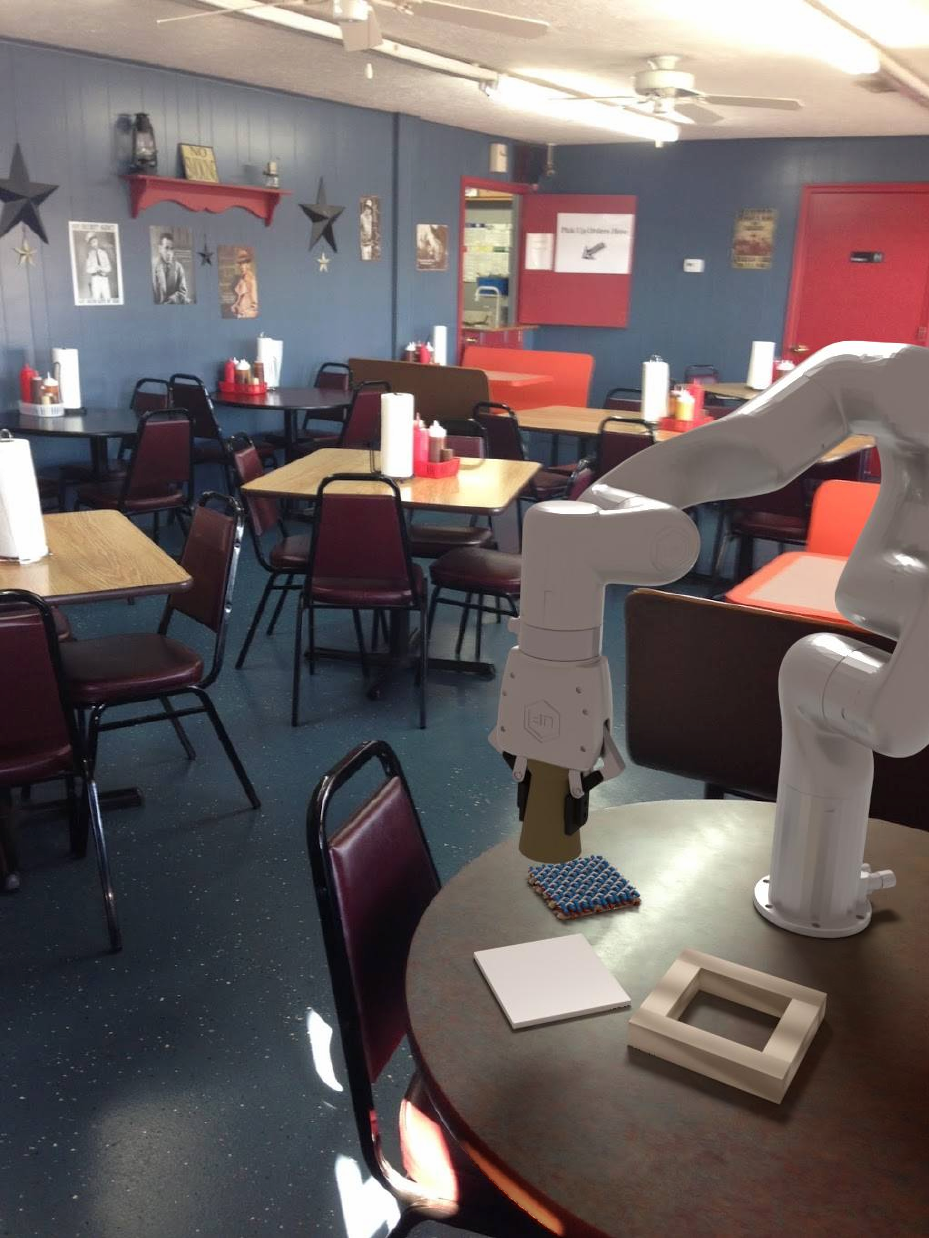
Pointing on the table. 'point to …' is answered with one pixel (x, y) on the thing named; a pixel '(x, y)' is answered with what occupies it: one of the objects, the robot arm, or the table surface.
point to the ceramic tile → (550, 980)
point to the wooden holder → (717, 1055)
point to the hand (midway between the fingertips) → (551, 821)
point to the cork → (547, 817)
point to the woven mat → (582, 887)
